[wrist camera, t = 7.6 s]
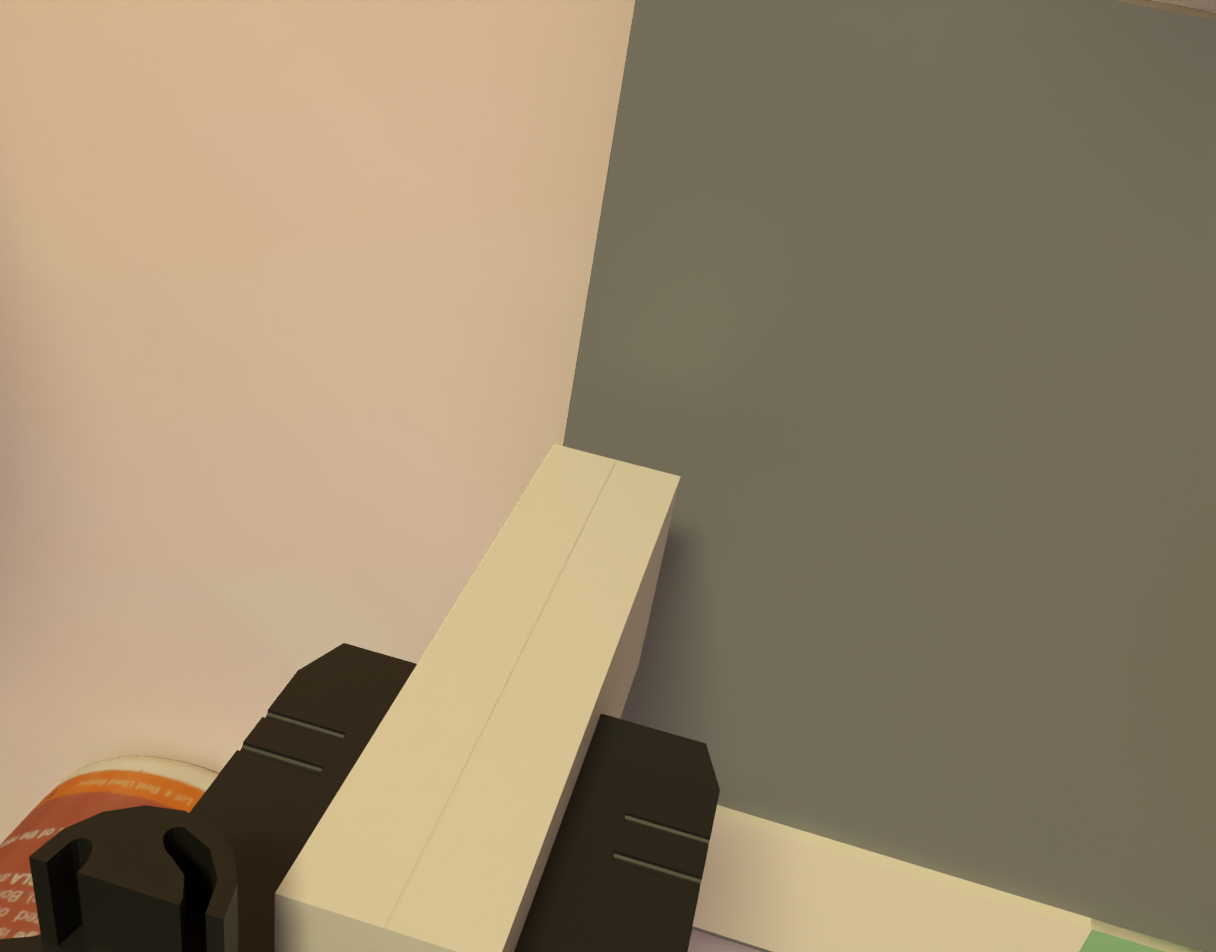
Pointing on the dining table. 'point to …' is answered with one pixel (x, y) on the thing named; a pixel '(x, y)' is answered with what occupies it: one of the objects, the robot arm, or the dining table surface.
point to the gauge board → (925, 459)
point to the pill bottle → (4, 872)
